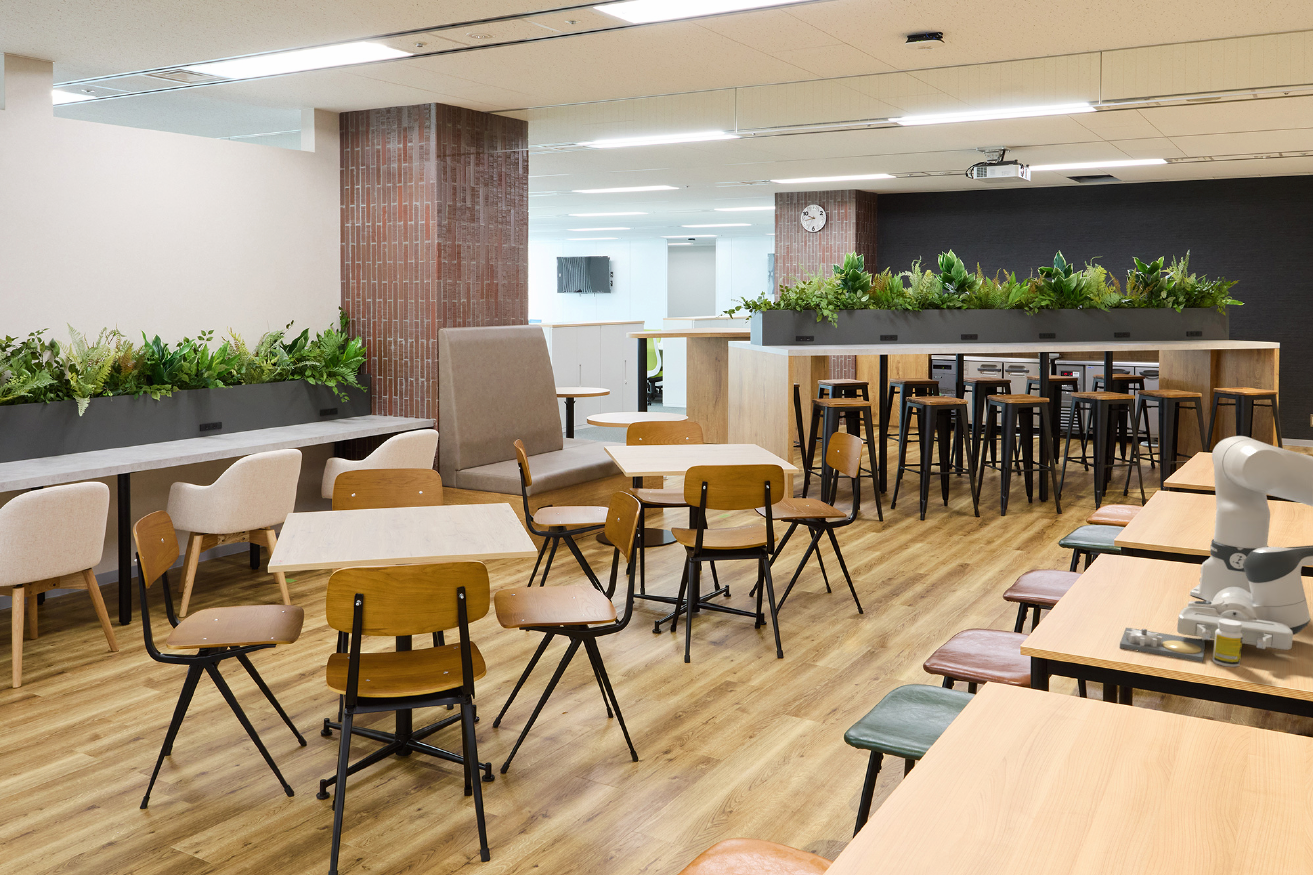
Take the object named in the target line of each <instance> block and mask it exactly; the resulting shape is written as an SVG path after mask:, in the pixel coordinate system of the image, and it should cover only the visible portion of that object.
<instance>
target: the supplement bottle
mask: <svg viewBox="0 0 1313 875" xmlns="http://www.w3.org/2000/svg"><path fill="white" fill-rule="evenodd" d="M1218 628H1219V629H1217V630H1216V631H1215V639H1213V650H1212V651H1213V652H1212V662H1213V663H1215V664H1216V665H1218V666H1223V667H1230V668H1231V667H1232V668H1235V667H1239V666H1240V665H1241V658H1242V656H1241V655H1242V646H1243V644H1242V639H1243V635H1242V633H1241V632H1240V631H1241V629H1242V624H1241V623H1240V622H1238V621H1235V620H1229V619H1220V620H1219V621H1218Z"/></svg>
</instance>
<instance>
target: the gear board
mask: <svg viewBox="0 0 1313 875" xmlns="http://www.w3.org/2000/svg"><path fill="white" fill-rule="evenodd" d="M1205 646H1206V640H1202V639H1200V638H1194V637H1187V636H1181V635H1174V634H1168V633H1162V632H1156V631H1150V630H1148V629H1145V628H1141V629H1137V628H1132V627H1125V630H1124V631H1123V634H1122V637H1121V640H1120V642H1119V649H1123V648H1125V649H1124V650H1128V649H1130V651H1134V650H1138V651H1137V652H1140V651H1141V653H1146V652H1149V653H1148V654H1152V655H1158V656H1163V657H1169V656H1170V657H1171V658H1176V659H1181V658H1182V660H1186V661H1187V660H1189V661H1194V662H1199V663H1203V662H1204V655H1205V654H1204V653H1205Z"/></svg>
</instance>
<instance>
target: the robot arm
mask: <svg viewBox="0 0 1313 875" xmlns="http://www.w3.org/2000/svg"><path fill="white" fill-rule="evenodd" d="M1211 461H1212V464H1213V470H1214V473H1213V475H1214V476H1213V477H1214V488H1215V490H1214V491H1215V501H1216V502H1215V503H1216V509H1215V510H1216V512H1215V521H1214V523H1215V524H1214V525H1215V526H1214V531H1213V532H1214V535H1213V539H1211V543H1210V550H1209V551H1210V552H1209V554H1210V557H1209V558H1208V559H1206V560H1205V561H1203V562H1202V564H1201V567H1200V577H1199V583H1198V584H1197V585H1196V586H1195V587H1192V589H1190V591H1189V595H1190V596H1193V597H1196V598H1200V599H1202V600H1189V601H1188V604H1187V606H1186V607H1184V608H1183V609H1181V610H1180V612H1179V614H1178V618H1177V628H1176V629H1177V630H1176V632H1177V633H1178V634H1181V635H1185V636H1193V637H1199V638H1201V640H1205V641H1208V642H1210V641H1211V639H1212V640H1215V631H1216V630H1217V629H1219V628H1218V621H1219V620H1220V619H1229V620H1235V621H1238V622H1240V623H1241V624H1242V629H1241V631H1240V632H1241V633H1242V635H1243V639H1242V645H1243V644H1245V645H1251V646H1256V649H1260V650H1266V648H1270V649H1278V650H1285V651H1286V650H1287V651H1288V650H1290V649H1292V646H1293V640H1294V638H1293V637H1294V636H1295V635H1296V634H1299V632H1301V631H1302V630H1304V629H1305V628H1306V627H1307V626H1308V624H1309V623H1310V622H1311V620H1312V619H1311V616H1310V610H1309V606H1308V601H1307V598H1306V594H1305V589H1304V585H1303V580H1302V573H1301V572H1302V567H1303V566H1304V567H1305V566H1313V545H1302V546H1301V545H1299V546H1298V545H1297V546H1288V547H1287V546H1286V547H1283V546H1282V547H1281V546H1269V545H1268V542H1269V531H1270V522H1271V510H1270V508H1269V504H1268V497H1267V495H1268V496H1273V497H1275V498H1276V497H1277V498H1281V499H1285V500H1289V501H1293V502H1297V503H1300V504H1303V505H1307V506H1310V507H1313V456H1312V455H1309V454H1304V453H1301V452H1296V451H1294V450H1293V451H1292V450H1289V449H1285V448H1282V447H1279V446H1275V445H1271V444H1269V443H1265V442H1262V441H1259V440H1256V439H1254V438H1251V437H1248V436H1244V435H1235V436H1231V437H1226V438H1223V439H1221V440H1220V441H1218V443H1217V444H1216V445H1215V446H1214V448H1213V450H1212V453H1211Z"/></svg>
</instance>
